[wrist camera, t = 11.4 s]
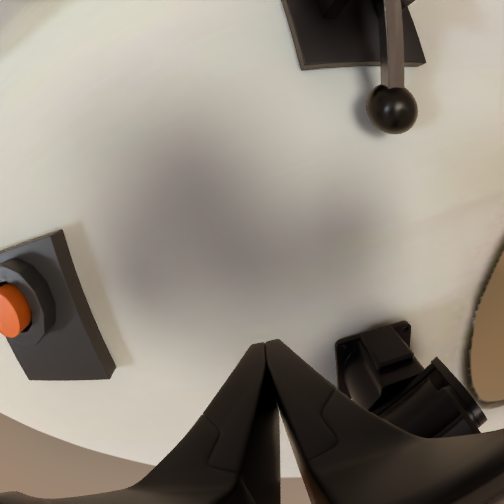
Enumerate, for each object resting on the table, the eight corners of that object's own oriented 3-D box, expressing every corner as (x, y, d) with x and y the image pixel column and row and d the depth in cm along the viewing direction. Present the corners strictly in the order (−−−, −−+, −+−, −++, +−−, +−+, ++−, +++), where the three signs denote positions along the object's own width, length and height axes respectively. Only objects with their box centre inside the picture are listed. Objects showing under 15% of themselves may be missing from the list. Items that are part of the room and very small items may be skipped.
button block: (116, 367, 23) (102, 393, 19) (36, 370, 23) (20, 391, 20) (62, 229, 19) (36, 242, 16) (-14, 256, 20) (-38, 269, 16)
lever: (399, 121, 18) (425, 140, 15) (358, 124, 18) (380, 145, 16) (388, -61, 9) (418, -68, 6) (338, -68, 9) (362, -80, 6)
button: (38, 324, 18) (27, 336, 16) (10, 328, 18) (-1, 339, 17) (20, 279, 17) (6, 289, 15) (-7, 287, 17) (-20, 296, 16)
